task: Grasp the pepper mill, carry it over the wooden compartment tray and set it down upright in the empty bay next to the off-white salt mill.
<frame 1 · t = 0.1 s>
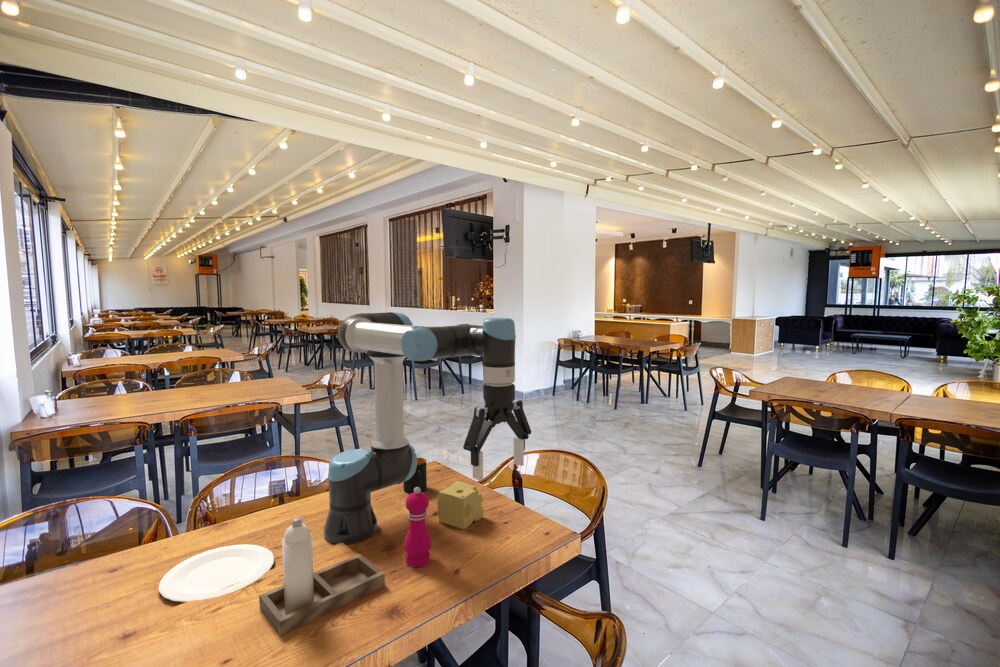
hand: (499, 471, 114), 28 cm above the table, fingers open, 13 cm apart
cheese: (460, 520, 149), on the table
pepper mill: (418, 561, 126), on the table
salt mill: (299, 607, 105), point 1 cm above the table, touching wooden compartment tray
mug: (416, 491, 171), on the table
wooden compartment tray: (324, 601, 109), on the table
plate: (219, 576, 120), on the table
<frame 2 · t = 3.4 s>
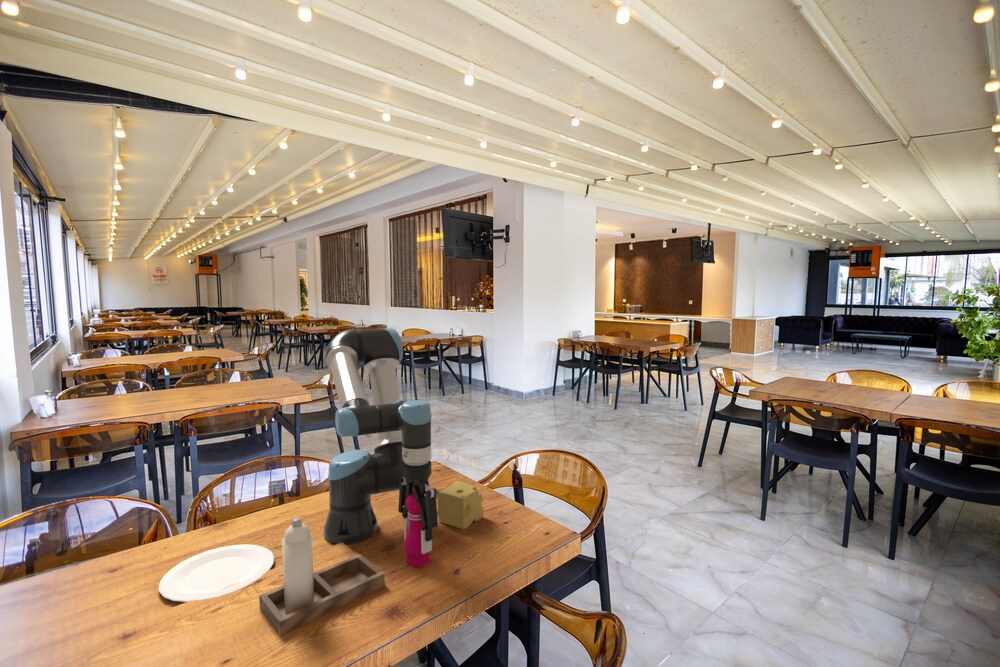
hand: (417, 545, 125), 4 cm above the table, fingers closed on pepper mill, 7 cm apart
pepper mill: (418, 561, 126), on the table, touching gripper
everything else where it was.
when the fingers open (7 cm above the table, at t = 8.8 s): pepper mill drops 1 cm, resting on wooden compartment tray.
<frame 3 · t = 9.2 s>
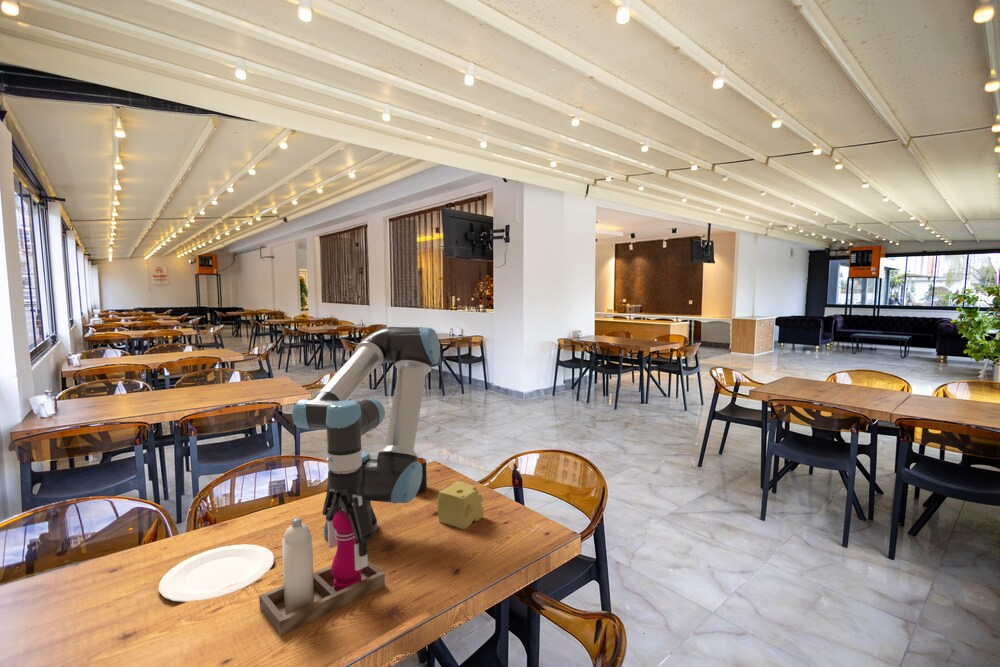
hand: (347, 556, 112), 8 cm above the table, fingers open, 13 cm apart
pepper mill: (347, 586, 113), point 1 cm above the table, touching wooden compartment tray
everything else where it was.
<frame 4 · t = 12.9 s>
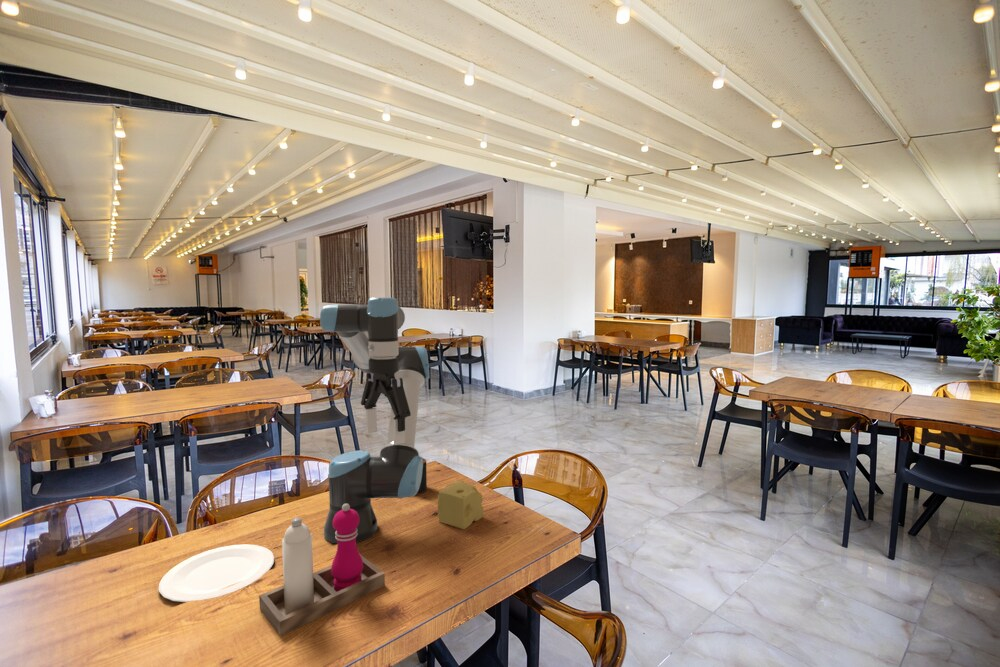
hand: (385, 437, 125), 33 cm above the table, fingers open, 13 cm apart
nothing on the table moved.
at the end: pepper mill inside the target area on the wooden compartment tray (0.2 cm from its centre), point 1.0 cm above the wooden compartment tray's base; pepper mill tilted 0°; the gripper is holding nothing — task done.
